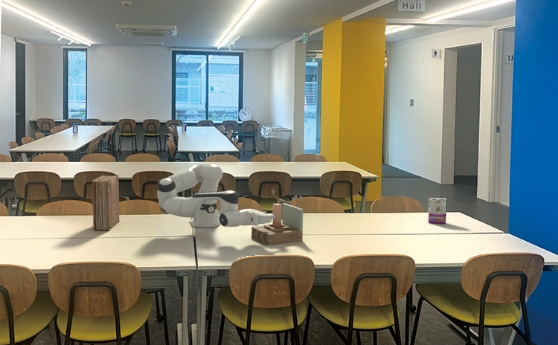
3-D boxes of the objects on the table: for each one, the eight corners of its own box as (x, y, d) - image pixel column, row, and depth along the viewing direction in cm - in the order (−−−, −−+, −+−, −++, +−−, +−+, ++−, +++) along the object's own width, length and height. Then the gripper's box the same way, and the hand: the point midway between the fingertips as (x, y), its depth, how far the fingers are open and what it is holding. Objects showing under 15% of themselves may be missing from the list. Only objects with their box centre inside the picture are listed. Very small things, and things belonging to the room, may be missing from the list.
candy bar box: (444, 222, 364) (446, 198, 362) (445, 224, 359) (447, 199, 357) (427, 221, 366) (428, 197, 364) (428, 223, 361) (429, 198, 359)
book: (109, 231, 323) (108, 180, 319) (93, 231, 322) (91, 180, 318) (119, 221, 348) (118, 174, 344) (104, 221, 347) (103, 174, 343)
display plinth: (251, 237, 316) (251, 206, 314) (284, 232, 327) (284, 203, 325) (268, 245, 299) (269, 212, 297) (302, 240, 310) (303, 209, 308)
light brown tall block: (270, 228, 313) (271, 204, 311) (278, 227, 316) (278, 203, 314) (275, 230, 309) (275, 205, 307) (282, 229, 312) (283, 204, 310)
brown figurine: (295, 227, 338) (289, 187, 334) (278, 232, 331) (272, 191, 327) (285, 225, 347) (279, 186, 343) (268, 230, 340) (262, 190, 337)
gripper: (240, 219, 311) (261, 216, 318) (257, 226, 293) (279, 223, 301) (240, 208, 310) (261, 205, 317) (257, 214, 293) (279, 212, 300)
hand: (270, 214), depth 309 cm, fingers open, 8 cm apart
